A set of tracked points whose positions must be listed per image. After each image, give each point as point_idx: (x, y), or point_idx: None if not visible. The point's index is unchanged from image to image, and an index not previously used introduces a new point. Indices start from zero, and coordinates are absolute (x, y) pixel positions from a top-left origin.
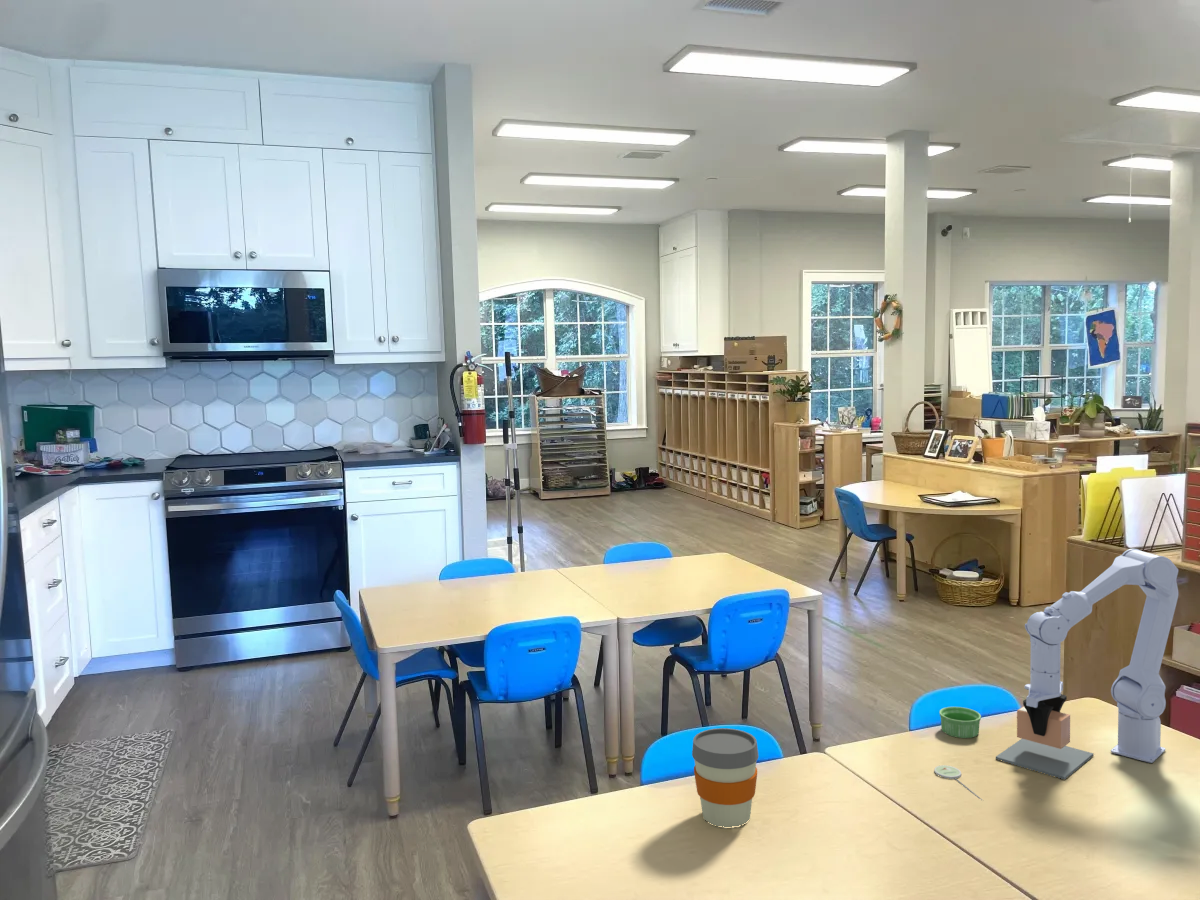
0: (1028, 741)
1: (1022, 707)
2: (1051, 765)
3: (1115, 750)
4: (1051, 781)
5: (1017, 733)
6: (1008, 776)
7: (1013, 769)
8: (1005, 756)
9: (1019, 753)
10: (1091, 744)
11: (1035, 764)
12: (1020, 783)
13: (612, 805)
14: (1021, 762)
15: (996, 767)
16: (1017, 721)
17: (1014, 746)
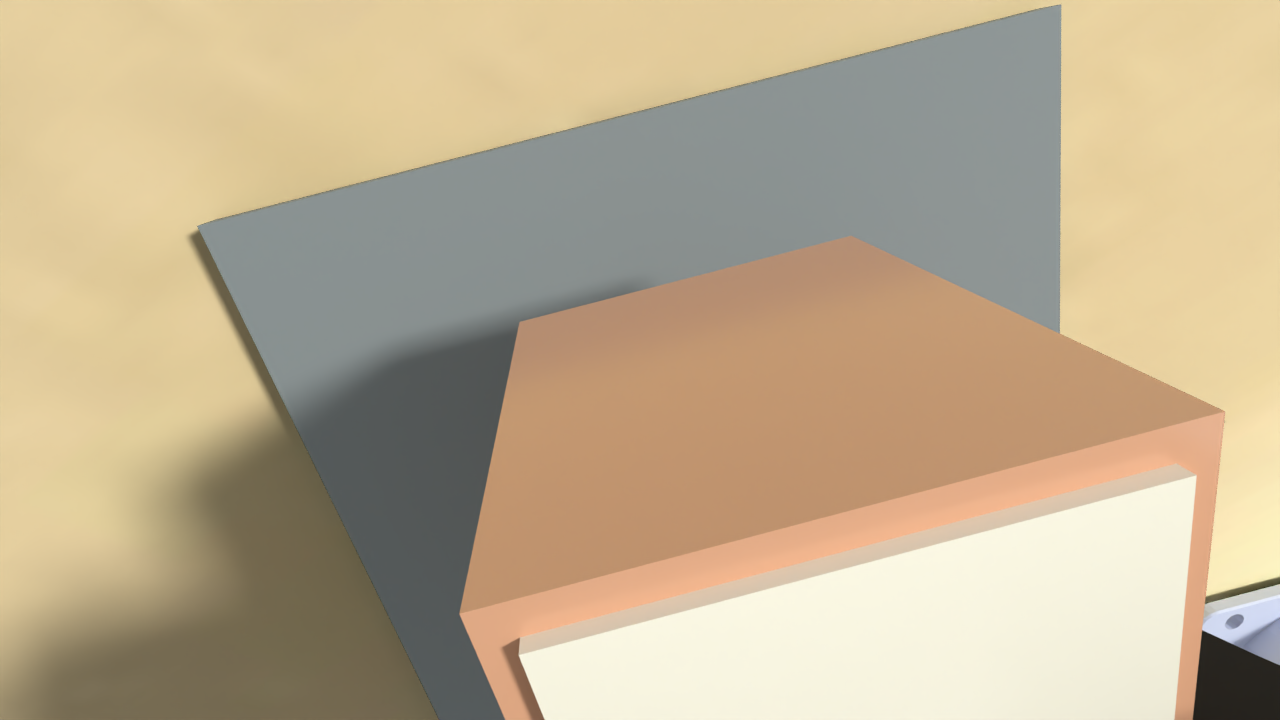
0: (898, 144)
1: (790, 582)
2: None
3: (1226, 630)
4: (348, 715)
5: (520, 344)
6: (52, 531)
7: (217, 460)
8: (313, 280)
9: (524, 304)
10: (1275, 444)
11: (442, 537)
12: (63, 651)
13: None
14: (356, 452)
15: (74, 355)
16: (501, 438)
17: (640, 150)
